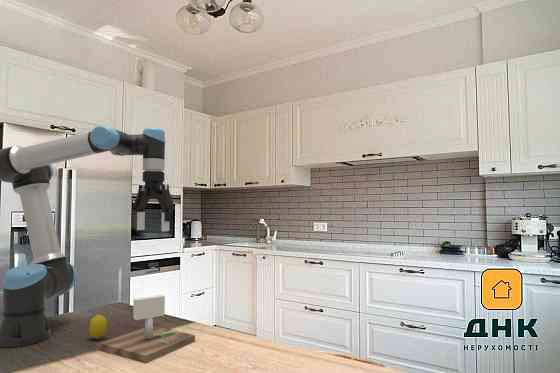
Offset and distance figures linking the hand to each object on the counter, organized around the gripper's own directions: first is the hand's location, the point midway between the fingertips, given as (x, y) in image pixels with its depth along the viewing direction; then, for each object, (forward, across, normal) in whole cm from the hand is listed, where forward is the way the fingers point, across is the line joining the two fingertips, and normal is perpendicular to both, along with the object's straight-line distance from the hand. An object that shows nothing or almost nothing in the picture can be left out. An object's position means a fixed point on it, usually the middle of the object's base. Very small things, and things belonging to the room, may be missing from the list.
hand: (152, 230), depth 138 cm
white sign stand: (+32, -13, +9) cm, 36 cm away
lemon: (+35, +6, +16) cm, 39 cm away
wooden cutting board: (+35, -13, +11) cm, 38 cm away
